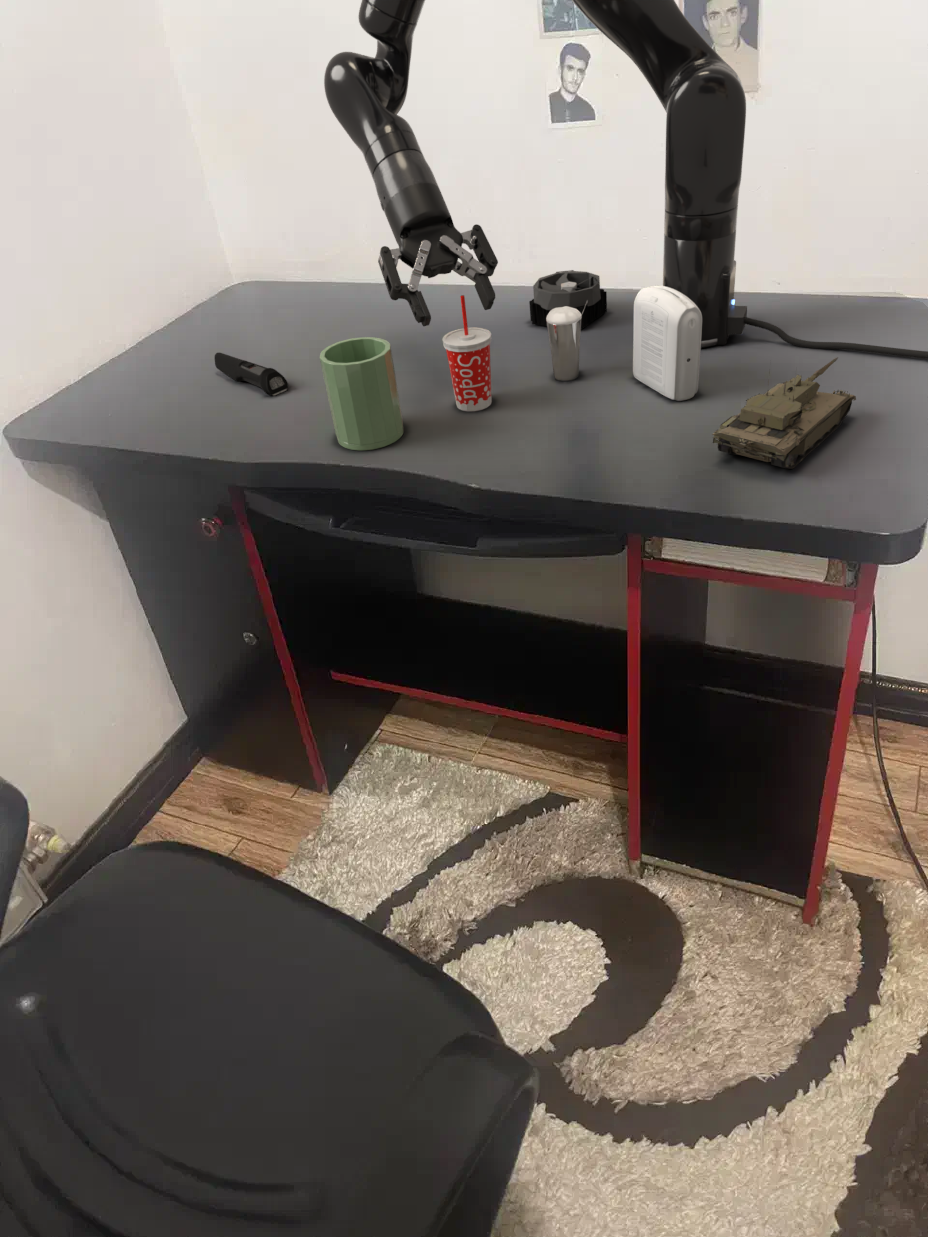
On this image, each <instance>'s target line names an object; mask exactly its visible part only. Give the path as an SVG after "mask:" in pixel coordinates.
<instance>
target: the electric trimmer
mask: <svg viewBox="0 0 928 1237" xmlns="http://www.w3.org/2000/svg"><path fill="white" fill-rule="evenodd" d="M214 366H215V369H217V370H218V371H220V372H221V373H223V374H224V375H226V376H228V378H230V379H232V380H234V381H236V382H248V383H249V384H252V385H254V386H257V387H259V388H261V389H262V390H263V392H264V393H265V394H266V395H268V396H276V395H279V394H282V393H284V392H285V391H287V390H288V388H289V383H288V381H287V379H286V378H285V377H284V375H282V374H281V373H280V372H278V370H276V369H275V368H273V367H266V366H263V365H260V364H257V363H254V362H251V361H248V360H245V359H241V358H238V357H235V356H233V355H232V356H231V355H229V354H227V353H223V352H216V353H215V354H214Z"/></svg>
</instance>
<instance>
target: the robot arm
mask: <svg viewBox="0 0 928 1237" xmlns="http://www.w3.org/2000/svg"><path fill="white" fill-rule="evenodd" d="M571 1H572V3H573V4H574V5H575V7H576V8H577V9H578V10H579V11H580V12H581V14H582V15H583V16H584V17H586V19H587V20H588V21H589V22H590V23H591V24H592V25H593V26H594V27H595V28H596V29H597V30H598V31H599V32H600V33H601V34H603V36H605V37H606V38H607V39H608V40H609V41H610V42H612V43H613V44H614V45H615V46H616V47H618V49H620V50H621V51H622V52H623V53H624V54H625V55H626V56H627V57H628V58H629V59H630V60H631V61H632V62H633V64H635V66H636V67H637V68H638V70H639V71H640V73H641V74H642V75H643V77H644V78H645V80H646V81H647V83H648V84H649V87H651V89H652V91H653V92H654V94H655V96H656V97H657V99H658V100H659V103H660V104H661V106H662V107H663V109H664V111H665V113H666V115H665V116H666V117H665V160H664V161H665V162H664V164H665V166H664V167H665V168H664V169H665V170H664V216H663V217H664V222H663V224H664V225H663V258H662V260H663V263H662V286H666V287H669V288H672V289H675V290H677V291H679V292H681V293H682V294H684V295H685V296H687V297H688V298H689V299H690V300H691V301H693V302H694V303H695V304H696V306H697V307H698V308H699V310H700V311H701V314H702V334H701V349H702V348H709V347H713V346H725V345H726V344H727V343H728V340H729V338H730V336H731V335H736V336H737V335H743V332H744V330H745V326H746V325H747V326H751V327H756V328H760V329H763V330H767V331H769V332H771V333H773V334H775V335H777V336H778V337H779V338H780V339H781V340H782V341H784V342H785V343H787V344H790V345H793V346H796V347H800V348H806V349H814V350H815V349H818V350H846V351H847V350H848V351H856V352H863V353H873V354H881V355H890V356H898V357H907V358H915V359H916V358H917V359H926V360H928V351H926V350H917V349H907V348H899V347H892V346H891V347H889V346H881V345H872V344H863V343H855V342H843V341H842V342H841V341H812V340H804V339H800V338H796V337H794V336H791V335H789V334H788V333H786V332H785V330H783V329H782V328H780V327H779V326H777V325H774V324H772V323H769V322H766V321H763V320H759V319H755V318H751V317H747V314H748V305H735V302H736V299H735V286H736V270H737V260H736V259H735V254H736V253H735V252H736V241H737V240H736V239H737V238H736V237H737V225H738V209H739V198H740V197H739V196H740V187H741V181H742V173H743V159H744V146H745V136H746V134H745V133H746V122H747V121H746V120H747V98H746V97H747V96H746V92H745V90H744V87H743V83H742V80H741V78H740V77H739V75H738V73H737V72H736V71H735V69H733V68H732V67H731V65H729V63H727V62H726V61H725V60H724V59H723V58H722V57H721V56H720V55H719V54H718V53H717V52H716V50H715V49H714V48H712V46H710V44H709V43H708V42H707V41H706V40H705V39H704V37H703V36H702V35H701V34H700V33H699V32H698V31H697V29H696V28H695V27H694V26H693V25H692V24H691V23H690V21H689V20H688V19H687V17H686V16H685V15H684V13H683V12H682V10H681V9H680V7H679V6H678V4H677V2H676V1H675V0H571ZM425 3H426V0H361V2H360V6H359V10H358V23H359V25H360V28H361V29H362V30H363V31H364V32H365V33H366V34H367V35H369V36H370V37H371V38H373V39H375V40H376V54H375V57H372V56H369V55H365V54H361V53H358V52H353V51H342V52H338V53H336V54H335V55H334V56H332V57H331V58H330V60H329V61H328V62H327V65H326V67H325V71H324V77H323V88H324V93H325V94H324V95H325V98H326V100H327V104H328V106H329V109H330V110H331V112H332V114H333V115H334V117H335V119H336V120H337V121H338V123H339V124H340V126H341V127H342V128H343V130H344V131H345V133H346V134H347V136H348V137H349V138H350V140H351V141H352V143H353V144H354V145H355V146H356V147H357V148H358V149H359V150H360V152H361V154H362V156H363V158H364V162H365V163H366V166H367V169H368V171H369V174H370V175H371V178H372V180H373V183H374V187H375V191H376V195H377V198H378V200H379V203H380V208H381V210H382V211H383V213H384V215H385V217H386V219H387V222H388V225H389V227H390V229H391V232H392V234H393V237H394V240H395V242H396V244H397V246H398V247H397V248H392V249H390V247H388V246H386V245H384V246H381V248H380V250H379V255H378V260H377V261H378V262H377V263H378V265H379V269H380V271H381V275H382V277H383V281H384V283H385V287H386V290H387V292H388V295H389V298H390V299H391V300H392V301H398V300H406V301H407V303H408V305H409V308H410V310H411V312H412V315H413V318H414V320H415V321H416V322H417V323H418V324H421V325H422V327H428V326H430V324H431V321H432V315H431V312H430V310H429V308H428V305H427V303H426V300H425V298H424V295H423V294H422V291H421V290H418V288H419V285H420V282H421V279H422V276H423V277H427V279H431V278H434V277H437V276H438V275H448V274H451V273H452V271H453V272H454V273H456V274H458V275H459V276H460V277H466V278H467V279H469V280H470V281H472V282H473V283H475V284H474V289H475V291H476V293H477V297H478V298H479V300H480V303H481V305H482V307H483V310H484V311H488V310H491V309H492V307H493V305H494V304H495V303H494V301H495V299H496V292H495V290H494V287H493V285H492V282H491V280H490V278H489V277H492V276H493V275H494V274H495V270H496V268H497V266H498V264H499V260H498V258H497V256H496V254H495V252H494V250H493V248H492V246H491V244H490V242H489V239H488V237H487V236H486V233H485V232H484V229H483V228H482V226H481V225H480V224H474V225H473V226H472V227H471V229H469V230H467V231H463V232H460V231H459V230H458V229H457V228H456V226H455V224H454V221H453V219H452V215H451V213H450V210H449V208H448V205H447V204H446V201H445V198H444V196H443V194H442V191H441V189H440V187H439V184H438V182H437V180H436V176H435V174H434V173H433V170H432V168H431V167H430V165H429V163H428V162H427V160H426V158H425V155H424V154H423V150H422V149H421V146H420V145H419V142H418V139H417V136H416V135H415V132H414V130H413V128H412V127H411V125H410V123H409V122H408V121H407V120H406V119H405V118H404V117H402V116H401V115H398V114H399V113H400V111H401V110H402V108H403V106H404V104H405V102H406V99H407V94H408V88H409V79H410V71H411V70H410V69H411V60H412V50H413V42H414V34H415V31H416V28H417V26H418V22H419V20H420V16H421V14H422V11H423V8H424V5H425ZM463 244H464V245H466V246H467V247H468V249H469V250H470V251H471V250H472V251H473V253H474V254H475V257H476V258H474V255H473V254H472V253H471V252H469V251H468V250H466V249H465V248H464V247H463ZM399 260H400V261H401V262H402V263H404V264H405V265H407V266H408V267H410V268H411V270H412V271H411V275H410V278H409V281H408V283H402V280H401V277H400V275H399V271H398V268H397V267H398V263H399ZM459 260H460V261H461V262H460V261H459Z"/></svg>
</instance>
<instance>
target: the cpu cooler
mask: <svg viewBox="0 0 928 1237" xmlns="http://www.w3.org/2000/svg"><path fill="white" fill-rule="evenodd" d="M600 280H601V279H600V275H598V274H595V273H592V272H588V271H581V270H574V269H571V270H570V269H569V270H560V271H556V272H553V273H552V274H548V275H545V276H542V277H539V278H538V279H537V280H536V282H535V283H534V284H533V285H532V287H533V290H532V291H533V298H532V299H531V300H529V302H528V304H529V315H530V316H529V317H530V322H531V324H532V325H537V326H544V327H547V321H546V317H547V315H548V313H549V312H550V311H551V310H552V309H554V308H558V307H564V306H568V307H572V308H575V309H577V310H578V311H579V312H580V313H581V315H582V317H581V330H582V329H584V328H585V327H587V326H588V325H590V324H592V323H593V322H594V321H596V320H597V319H598V318H600V317H601V316H603V315H605V313H607V312H608V300H607V298H608V296H607V291H605V289H604V288H601V281H600ZM587 300H588V301H587ZM586 302H587V304H586ZM585 305H586V306H585ZM584 307H585V309H584ZM583 310H584V311H583ZM582 312H583V314H582Z"/></svg>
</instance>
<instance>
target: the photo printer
mask: <svg viewBox="0 0 928 1237" xmlns="http://www.w3.org/2000/svg"><path fill="white" fill-rule="evenodd" d="M632 332H633V336H632V337H633V339H632V340H633V343H632V374H633V377H634V378H635V379H636V380H638V381H639V382H641V383H642V384H644V385H645V386H647V387H648V388H651V389H652V390H654V391H656V392H657V393H659V394H660V395H663V397H666V398H668V399H670V400H673V401H677V402H681V401H686V400H690V399H692V398H693V397H694V396H695V394H697V393H698V389H699V382H700V381H699V379H700V366H701V349H702V348H701V334H702V314H701V311H700V310H699V308H698V307H697V306H696V304H695V303H694V302H693V301H691V300H690V299H689V298H688V297H687V296H685V295H684V294H682V293H681V292H679V291H677V290H675V289H672V288H669V287H666V286H663V285H658V284H657V285H650V286H648V287H643V288H641V289H639V291H638V293H637V294H636V295H635V298H634V302H633V331H632Z"/></svg>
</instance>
